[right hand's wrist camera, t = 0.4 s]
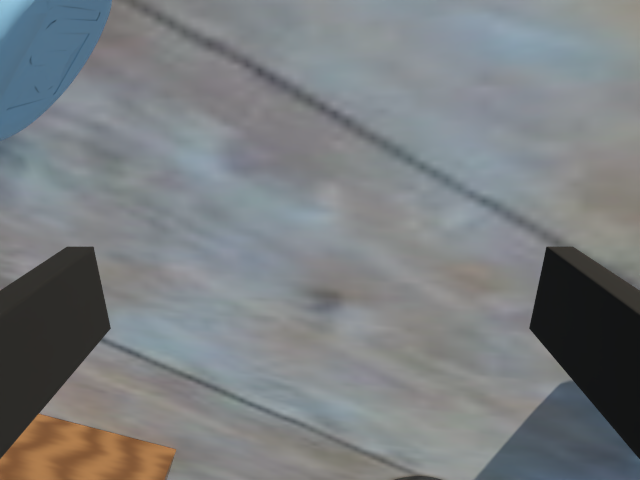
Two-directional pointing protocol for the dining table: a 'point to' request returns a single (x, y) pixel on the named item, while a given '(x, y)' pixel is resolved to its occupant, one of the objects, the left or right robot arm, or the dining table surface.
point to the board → (82, 454)
